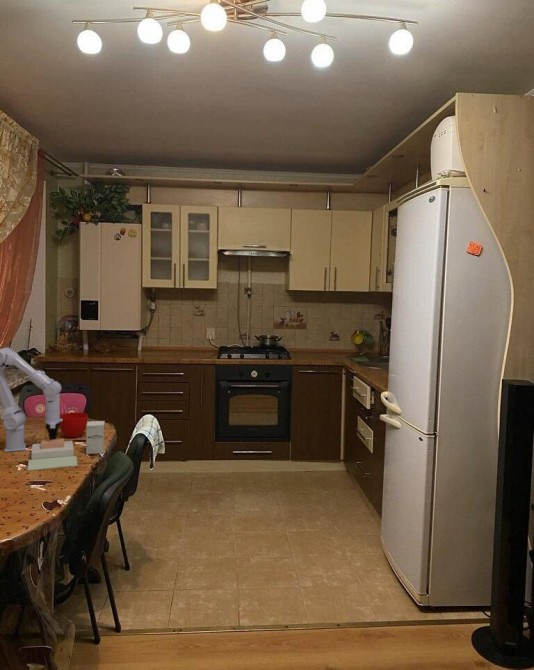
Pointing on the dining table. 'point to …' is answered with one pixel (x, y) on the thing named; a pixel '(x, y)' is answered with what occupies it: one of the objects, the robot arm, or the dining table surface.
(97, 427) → the supplement box
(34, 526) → the dining table surface
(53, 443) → the tile
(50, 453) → the deck
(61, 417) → the ceramic cup
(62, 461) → the mat
